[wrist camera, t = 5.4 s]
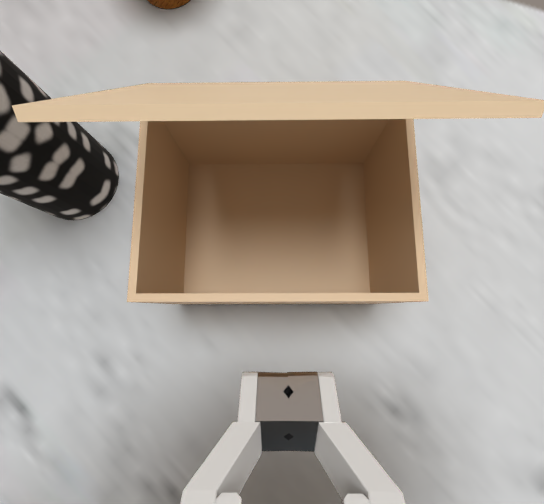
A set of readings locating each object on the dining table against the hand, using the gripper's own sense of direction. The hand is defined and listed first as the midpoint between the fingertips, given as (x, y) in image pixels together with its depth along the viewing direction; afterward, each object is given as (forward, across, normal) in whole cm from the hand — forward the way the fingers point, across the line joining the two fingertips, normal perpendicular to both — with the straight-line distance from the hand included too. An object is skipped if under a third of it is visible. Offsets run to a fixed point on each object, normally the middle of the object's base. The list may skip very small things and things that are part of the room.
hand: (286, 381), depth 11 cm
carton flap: (+11, 0, +7) cm, 13 cm away
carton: (+20, 0, -6) cm, 22 cm away
